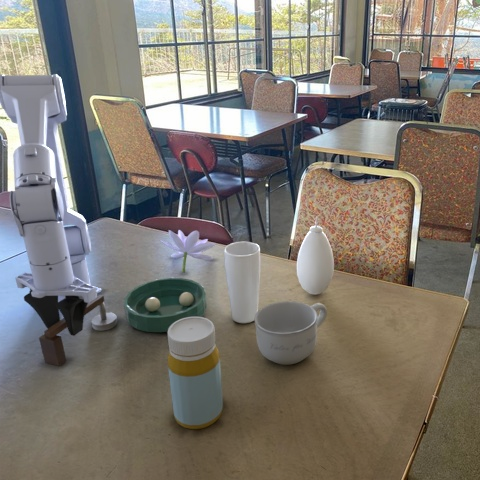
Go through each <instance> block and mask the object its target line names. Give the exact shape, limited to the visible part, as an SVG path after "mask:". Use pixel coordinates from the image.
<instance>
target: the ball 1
mask: <svg viewBox="0 0 480 480" xmlns="http://www.w3.org/2000/svg"><path fill="white" fill-rule="evenodd" d="M145 307H146V309H147V310H148V311H151V312H154V311H157V310H158V309H159V307H160V301H159V300H158V299H157V298H154V297H152V298H149V299H148V300H147V301H146V303H145Z"/></svg>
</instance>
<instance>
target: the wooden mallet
mask: <svg viewBox="0 0 480 480" xmlns="http://www.w3.org/2000/svg"><path fill="white" fill-rule="evenodd" d="M97 307H98V310H99V313H98V314H97V315H95V316H93V318H92V319H91V322H90V323H91V326H92V329H93V330H95V331H97V332H98V331H101V332H102V331H108V330H110V329H113V328H114V327H115V326H117V324H118V318H117V314H115V313H113V312H107V311H106V305H105V296H104V295H101V294H97V298H96V299H94V300H93V301H91V302H90V303H88V304H87V307H86V310H85V314H84V316H86V315H87V314H89V313H90V312H92V311H93V310H94V309H96V308H97ZM65 329H68V328H67V324H66V321H65V319H64V317H63V318H62V319H60V321H59V322H57V323H56V324H54V325H53V326H51V327H50V328H48V329H47V328H46V330H44V334H43V335H41V336H39V337H38V340H39V344H40V348H41V352H42V356H43V360H44V363H46V364H50V365H53V366H57V367H61V366H62V365H63V364H64V363H65V362H67V357H66V353H65V348H64V344H63V339H62V336H61V335H58V334H60V333H62V332H63V331H65Z"/></svg>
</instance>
